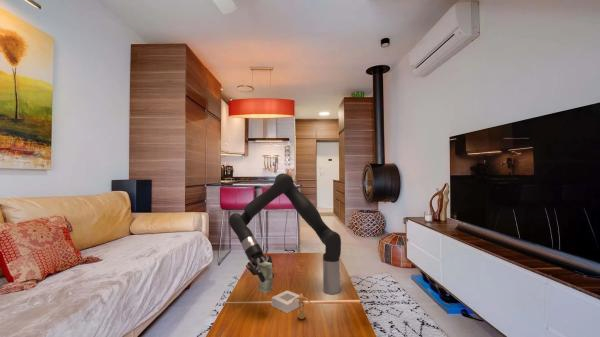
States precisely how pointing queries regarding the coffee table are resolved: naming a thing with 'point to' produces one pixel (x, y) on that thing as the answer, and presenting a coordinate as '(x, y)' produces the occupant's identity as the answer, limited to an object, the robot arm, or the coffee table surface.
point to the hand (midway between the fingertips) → (268, 279)
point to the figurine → (301, 312)
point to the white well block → (285, 301)
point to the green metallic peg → (266, 277)
